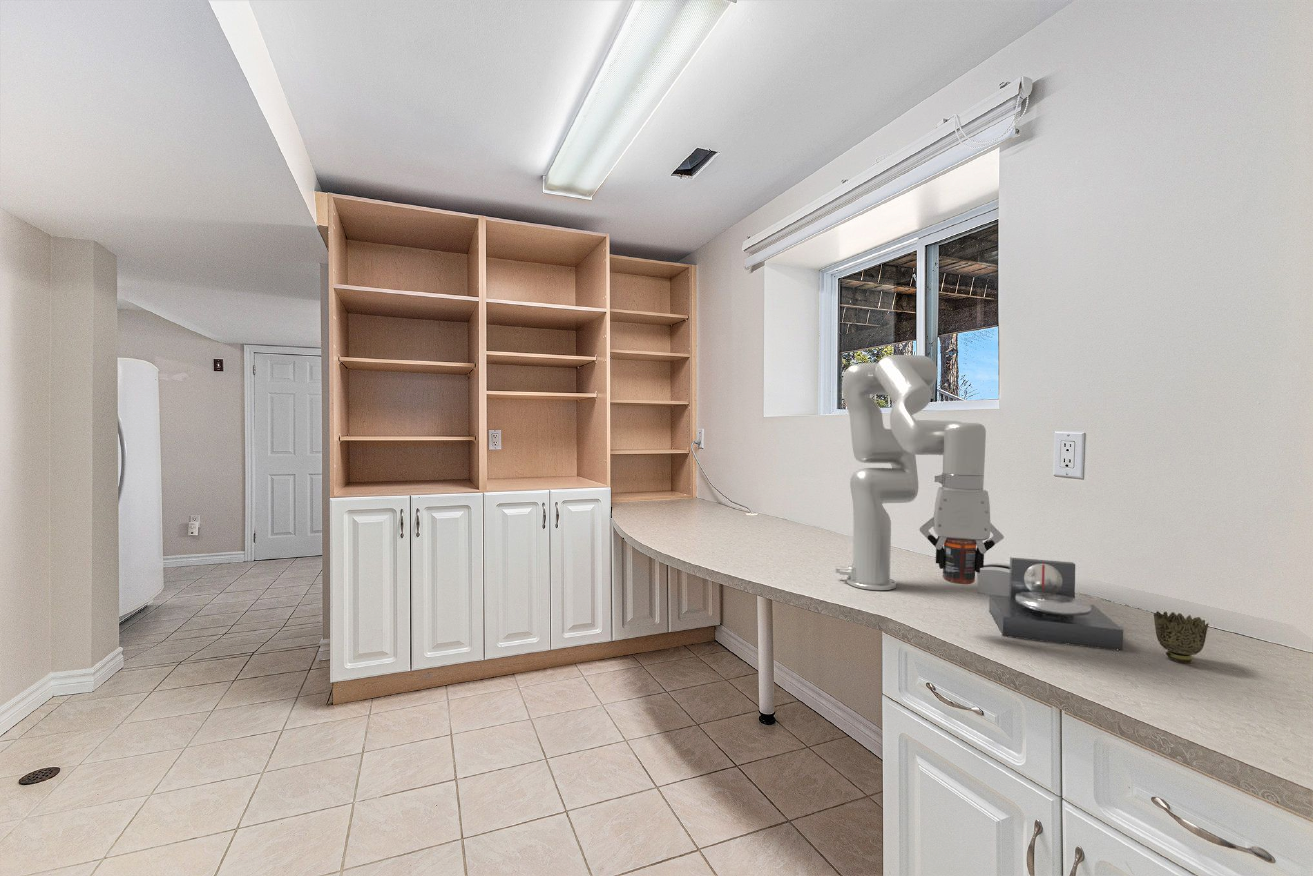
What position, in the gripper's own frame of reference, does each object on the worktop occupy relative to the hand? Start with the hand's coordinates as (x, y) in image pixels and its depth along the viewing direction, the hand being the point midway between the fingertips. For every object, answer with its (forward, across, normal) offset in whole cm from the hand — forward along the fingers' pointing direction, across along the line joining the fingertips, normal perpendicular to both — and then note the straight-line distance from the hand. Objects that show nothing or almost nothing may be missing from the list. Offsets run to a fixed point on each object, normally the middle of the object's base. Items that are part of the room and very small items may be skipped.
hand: (958, 568), depth 119 cm
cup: (+13, +37, 0) cm, 39 cm away
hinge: (+15, +16, +31) cm, 38 cm away
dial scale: (+13, +19, +10) cm, 25 cm away
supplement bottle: (+3, 0, 0) cm, 3 cm away
